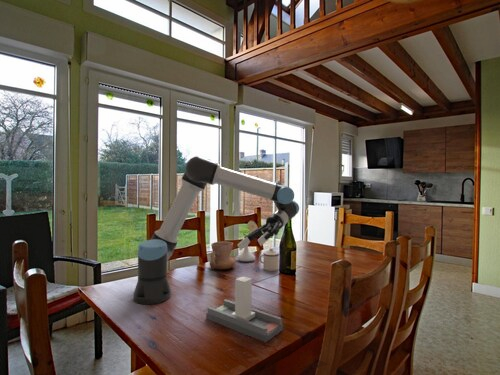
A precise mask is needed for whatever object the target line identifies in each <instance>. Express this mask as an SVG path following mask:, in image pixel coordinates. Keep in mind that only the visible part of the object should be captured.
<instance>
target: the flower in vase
mask: <svg viewBox="0 0 500 375" xmlns="http://www.w3.org/2000/svg"><path fill="white" fill-rule="evenodd" d="M258 228H259V227H258V225H257V223H256V222H255V221H254V220H249V222H248V223H247V229H248V230H249V231H248V234H250V233H252V232H253V231H255V230H256V229H258ZM242 234H243V236H244V237H245V236H247V235H248V234H245V233H242ZM244 237H243V238H242V241H243V240H244V239H245V238H244ZM236 259H237V261H240V262H252V261H255V259H256V256H255V255H254V254H253V253H252V252H250V251H249V244H248V245H246V246H245V247H244V248H243V251H242V252H240V253H239V254H238V255H237V256H236Z"/></svg>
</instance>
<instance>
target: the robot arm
mask: <svg viewBox="0 0 500 375" xmlns="http://www.w3.org/2000/svg"><path fill="white" fill-rule="evenodd" d="M180 180H181V182H182V184H181V186H180V189H179V190H178V192H177V194H176V196H175V198H174V201H173V202H172V204H171V206H170V208H169V210H168V212H167V213H166V216H165V218H164V220H163V222H162V224H161V226H160V228H159V229H158V230H155V231H154V233H153V234H152V236H151V238H150V239H148V240H144V241H142V242H141V243H140V244H138V246H137V283H136V285H135V288H134V292H133V295H132V298H133V302H134V303H136V302H137V303H136V304H139V303H140V305H153V304H154V305H155V303H156V304H160V303H163V302H165V301H168V300H169V299H170V298H171V297H172V288H171V286H170V283H169V280H168V261H169V260H170V258H171V257H172V255H173V254H174V250H175V249H176V246H177V244H178V242H179V241H178V235H179V233H180V231H181V229H182V227H183V225H184V224H185V223H184V222H185V221H186V219H187V217H188V215H189V214H190V211H191V209H192V207H193V205H194V204H195V201H196V199H197V197H198V195H199V193H200V192H202V191H204V190H205V188H206V187H207V185H211V186H214V185H215V184H217V185H219V186H223V187H227V188H230V189H233V190H237V191H241V192H243V193H247V194H250V195H252V196H256V197H260V198H263V199H265V200H266V199H267V200H270V201H273V203H274V205H275V207H276V208H277V210H275V211H274V212H273V213H272V214H271V215H270V216H268V217H267V218H266V220H265V223H264V224H263V225H262V226H259V227H258V228H257V229H256V230H255V231H253V232H252V233H251V232H250V233H248V234H246V235H247V236H244V237H243V238H245V239H244V240H243V239H242V240H241V241H240V242H239V243H238V244H237V247H238V248H239V251H242V250H244V247H245V246H246V245H248V246H249V244H251V242H252V241H253V240H255V239H257V238H258V239H257V242H258V244H259V245H260V246H261V247H262V246H263V245H264V244H265V243H266V242H267V241H268V240H270V239H271V238H272V237H274V236H277V235H278V234H279V232H280V231H281V229H282V228H283V227H286V224H287V223H288V222H289V221H291V220H292V219H293V218H295V217H296V215H297V214H298V213H299V212H300V206H299V203H298V202H296V201H295V200H294V199H295V192H294V189H292V188H291V187H290V186H286V185H285V186H284V185H283V184H282V183H281V180H276V181H274V182H271V181H268V180H265V179H263V178H259V177H256V176H252V175H248V174H245V173H243V172H239V171H236V170H232V169H229V168H226V167H223V166H221V165H220V163H217V162H215V161H212V160H210V159H208V158H206V157H205V156H198V155H197V156H193V157H191V158H190V159H189V160H188V161H187V163H186V164H185V170H184V172H183V175H182V177H181V179H180Z"/></svg>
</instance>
